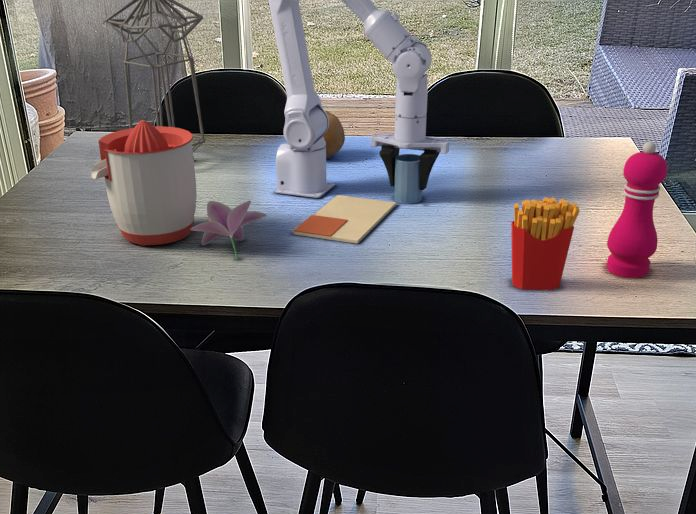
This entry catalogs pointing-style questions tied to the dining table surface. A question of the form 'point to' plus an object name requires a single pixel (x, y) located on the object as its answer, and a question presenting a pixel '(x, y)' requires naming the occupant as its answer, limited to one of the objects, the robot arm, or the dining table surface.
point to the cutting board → (345, 219)
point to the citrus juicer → (149, 182)
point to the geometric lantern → (141, 6)
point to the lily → (226, 221)
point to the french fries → (541, 242)
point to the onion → (334, 136)
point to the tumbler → (407, 179)
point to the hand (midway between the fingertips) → (408, 186)
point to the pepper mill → (637, 215)
